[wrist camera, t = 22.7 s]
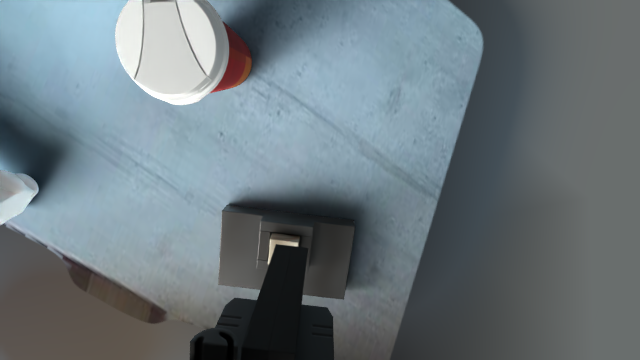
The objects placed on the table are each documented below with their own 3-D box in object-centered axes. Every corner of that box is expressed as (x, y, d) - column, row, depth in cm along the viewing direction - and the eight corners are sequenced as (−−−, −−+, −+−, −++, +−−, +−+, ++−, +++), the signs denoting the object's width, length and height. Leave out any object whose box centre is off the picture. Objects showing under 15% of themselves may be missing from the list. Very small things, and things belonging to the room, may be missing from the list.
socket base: (354, 219, 43) (356, 232, 40) (343, 290, 46) (344, 308, 42) (227, 204, 43) (217, 215, 39) (223, 275, 46) (213, 293, 42)
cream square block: (299, 235, 40) (298, 242, 39) (297, 260, 41) (295, 268, 39) (272, 232, 40) (270, 238, 39) (270, 257, 41) (267, 264, 39)
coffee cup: (184, 22, 38) (96, -18, 23) (258, 19, 38) (216, -25, 23) (194, 101, 40) (119, 108, 26) (265, 97, 40) (229, 103, 25)
